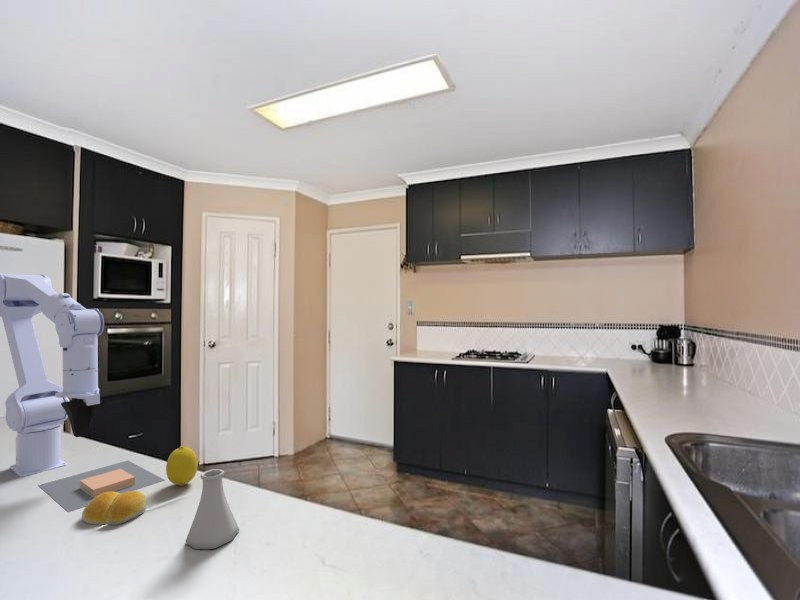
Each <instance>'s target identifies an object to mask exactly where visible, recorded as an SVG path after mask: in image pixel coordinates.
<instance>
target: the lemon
mask: <svg viewBox="0 0 800 600" xmlns="http://www.w3.org/2000/svg"><path fill="white" fill-rule="evenodd" d="M165 466H166V467H165V472H166V477H167V479H168V480H169V482H171V484H174V485H177V486H179V487H184V486H186V484H188V483H189V482H191V481H192V480H193V479H194V478H195V476H196V474H197V471H198V466H199V465H198V457H197V454H196V452H195V451H194V450H193V449H191V448H190V447H186V446H185V445H181V446H179V447H178V448H176V449H174V450H173V451H172V452H171V453H170V454H169V456H168V459H167V461H166V465H165Z"/></svg>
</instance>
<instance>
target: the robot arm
mask: <svg viewBox="0 0 800 600" xmlns="http://www.w3.org/2000/svg"><path fill="white" fill-rule="evenodd" d="M40 313H42V314H43V315H44V316H45V317H46V318H47V319H49V320H50V321H51V323H53V324H55V325H54V326H55V330H56V334H57V337H58V344H59V347H60V348H62V385H59V384H57V383H55V382H53V381H50V380H48V379H49V378H48V375H47V372H46V368H45V367H46V366H45V363H44V361H43V357H42V356H43V355H42V353H41V349H40V345H39V341H38V337H37V334H36V329H35V326H34V321H33V317H34V316H37V315H38V314H40ZM0 318H1V320H2V324H3V327H4V330H5V335H6V338H7V344H8V347H9V352H10V354H11V355H10V356H11V359H12V364H13V368H14V372H15V375H16V380H17V384H18V388H17V389H15V390H13V392H12V393H11V394H9V395H8V397H7V398H6V400H5V403H4V405H5V421H6V425H7V427H8V428H9V429H10V430H12V431H14V432H17V433H16V434H17V435H16V436H15V464H11V465H10V466H9V469H10V470H12V472H14V473H16V475H18V477H20V478H24V477H27V476H28V477H29V476H31V475H36V474H38V473H39V474H40V473H43V472H46V471H51V470H54V469H55V470H56V469H58V468H63V467H66V466H68V463H67V462H65V461H64V460H63V459H62V458H61V457H62V456H61V455H62V454H61V453H62V451H61V446H62V445H61V426H62V425H63V426H64V424H65V421H66V420H68V421H69V424H70V428H71V432H72V434H73V437H75V438H80V437H85V436H89V433H90V429H91V426H92V424H93V423H92V422H93V418H94V415H95V413H96V411H97V409H98V408H99V406H100V404H101V394H100V388H99V366H98V365H99V361H98V359H99V358H98V357H99V355H98V354H99V352H98V351H99V349H98V347H99V346H98V345H99V342H98V341H99V339H98V337H99V336H101V335H102V334H103V332H104V329H105V319H104V315H103V313H102V312H101V311H100V310H99V309H98V308H86V307H84V306H83V305H82V304H81V303H79V302H78V301H76V300H75V299H73V298H72V297H71V295H70V294H69V293H68V292H65V293H64V292H62V293H58V292H56V291H55V289H53V284H52V279H51V278H50V277H49V276H47V275H46V274H26V273H25V274H22V273H1V272H0Z"/></svg>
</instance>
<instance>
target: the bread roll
mask: <svg viewBox="0 0 800 600" xmlns="http://www.w3.org/2000/svg"><path fill="white" fill-rule="evenodd" d="M146 497H147V496H146V495H145V494H144V493H143V492H141V491H139V490H134V491H128V492H124V493H122V494H120V493H118V492H113V491H111V492H104V493H101V494H99V495H98V496H96V497H95V498H94V499H93V500H92V501H91V502H90V503H89V504H88V505H87V506H86V507H84V508H83V510H82V512H81V520H82V521H83V522H85V523H86V524H90V525H102V526H105V525H107V526H108V525H109V526H110V525H111V526H114V525H115V526H116V525H120V524H123V523H127V522H128V521H131V520H132V519H135V518H137V517H138V516H140V515H142V514H143V513H144V512H145V510H146V509H147V498H146Z"/></svg>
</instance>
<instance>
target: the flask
mask: <svg viewBox="0 0 800 600" xmlns="http://www.w3.org/2000/svg"><path fill="white" fill-rule="evenodd" d="M224 475H225V471H224V470H223V469H220V468H219V469H218V468H214V469H213V468H212V469H210V470H209V469H208V470H206V471H204V472H203V473H201V474H200V476H199V478H200V479H201V480H202V490H201V496H200V499H199V500H200V501H199V503H198V506H197V508H196V509H197V510H196V512H195V515H194V518H193V521H192V523H191V525H190V528H189V530H188V533H187V535H186V536H187V537H186V539H185V543H186V544H187V545H188V546H189V547H192V548H193V549H195V550H211V549H213V550H214V549H217V548H219V547H221V546H223V545H224V544H226V543H229V542H231V541H232V540H234V538H235V537H236V535H237V534H238V533H239V531H240V528H239V526H238V523H237V521H236V519H235V516H234V514H233V512H232V510H231V507H230V504H229V503H228V500H227V498H226V496H225V495H226V494H225V490H224V486H223V476H224Z"/></svg>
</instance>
